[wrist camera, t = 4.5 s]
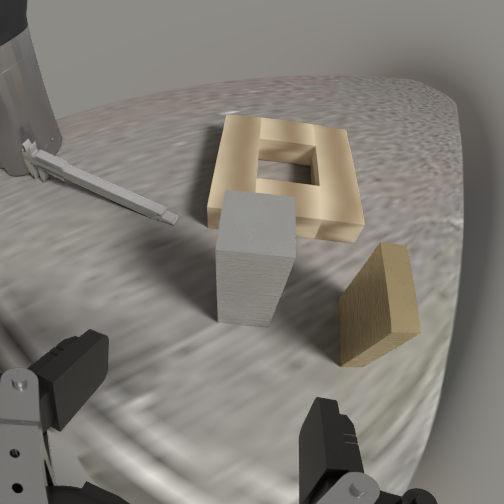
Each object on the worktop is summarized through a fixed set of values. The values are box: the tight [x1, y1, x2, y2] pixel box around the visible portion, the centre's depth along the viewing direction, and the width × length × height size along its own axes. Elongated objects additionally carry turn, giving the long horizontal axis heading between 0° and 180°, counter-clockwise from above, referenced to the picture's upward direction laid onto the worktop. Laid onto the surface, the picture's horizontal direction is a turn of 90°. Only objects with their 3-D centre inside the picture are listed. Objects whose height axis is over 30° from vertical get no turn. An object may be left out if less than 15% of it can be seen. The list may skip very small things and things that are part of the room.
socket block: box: [207, 115, 365, 243], centre depth 33 cm, size 14×14×3 cm
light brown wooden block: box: [338, 242, 421, 367], centre depth 22 cm, size 2×6×9 cm, turn 176°
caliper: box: [22, 139, 179, 225], centre depth 29 cm, size 20×1×6 cm, turn 71°
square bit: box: [216, 190, 296, 327], centre depth 22 cm, size 4×4×11 cm
